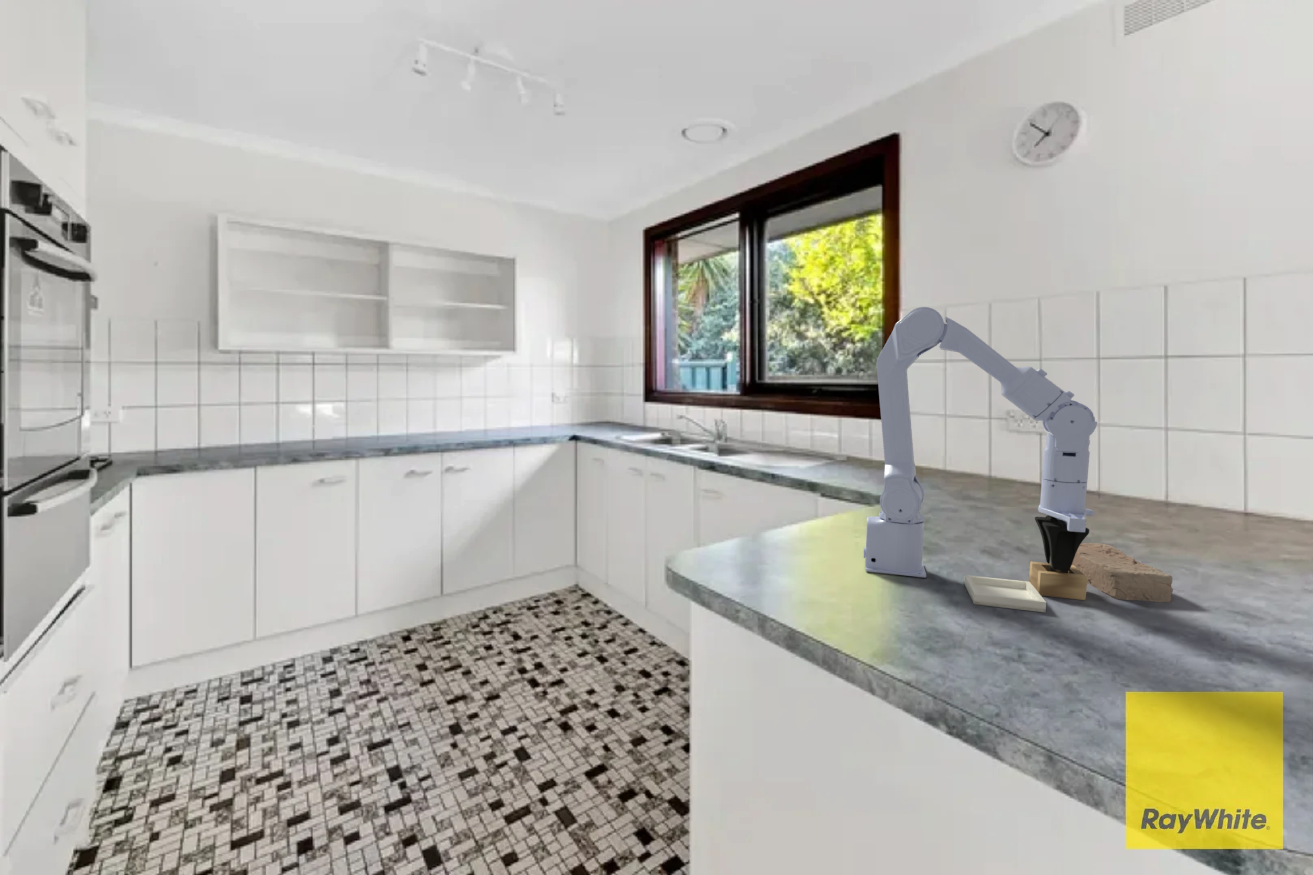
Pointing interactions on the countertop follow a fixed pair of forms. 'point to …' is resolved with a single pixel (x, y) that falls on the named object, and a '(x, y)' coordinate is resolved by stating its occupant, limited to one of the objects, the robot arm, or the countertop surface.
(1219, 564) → the countertop surface
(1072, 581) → the wooden square frame
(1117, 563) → the brick
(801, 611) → the countertop surface
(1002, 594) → the tray
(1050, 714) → the countertop surface
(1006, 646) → the countertop surface
